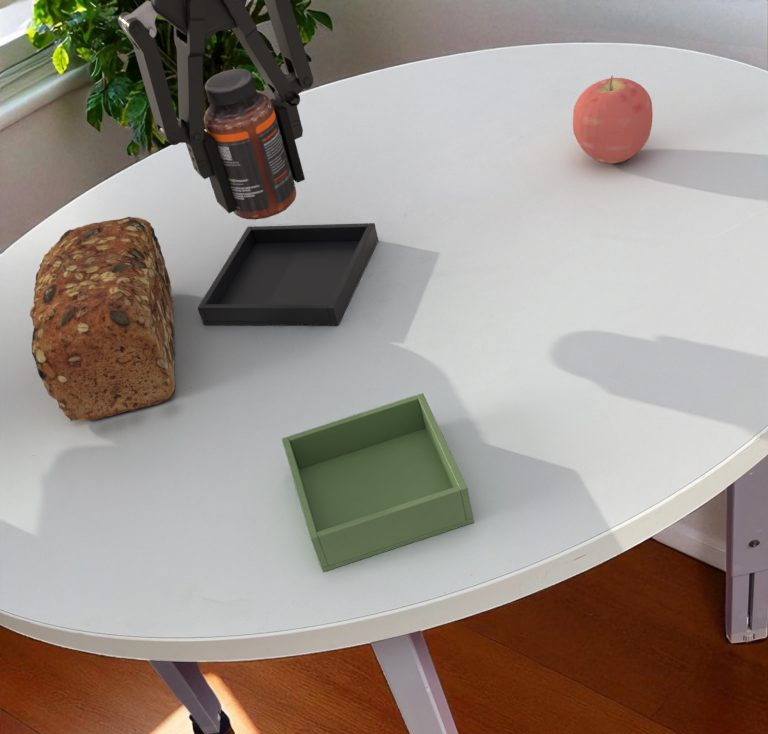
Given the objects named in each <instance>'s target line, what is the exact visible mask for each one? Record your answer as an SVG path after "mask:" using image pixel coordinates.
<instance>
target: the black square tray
mask: <svg viewBox="0 0 768 734" xmlns="http://www.w3.org/2000/svg"><path fill="white" fill-rule="evenodd" d="M378 236H379V235H378V232H377V228H376V223H375V222H369V223H368V222H366V223H365V222H363V223H332V224H331V223H329V224H327V223H326V224H294V225H293V224H292V225H258V226H257V225H255V226H254V225H253V226H247V227H246V228H245V230H244V232H243V234H242V235H241V237H239V240H238V241H237V243H236V245H235V246H234V248H233V250H232V251H231V253H230V255H229V256H228V258H227V260H226V261H225V262H224V264H223V266H222V267H221V269H220V270H219V272H218V274H217V276H216V277H215V279H214V280H213V282H212V284H211V286H210V287H209V288H208V290H207V292H206V294H205V295H204V297H203V299H202V300H201V302H200V303H199V305H198V307H197V311H198V314H199V316H200V318H201V322H202V324H203V326H308V327H309V326H310V327H311V326H313V327H314V326H318V327H320V326H329V327H330V326H332V327H333V326H335V327H336V326H337V327H338V326H339V325H340V323H341V321H342V319H343V317H344V314H345V313H346V310H347V308H348V306H349V304H350V302H351V300H352V298H353V295H354V294H355V292H356V289H357V287H358V285H359V283H360V281H361V278H362V276H363V274H364V272H365V270H366V268H367V265H368V263H369V262H370V260H371V257H372V255H373V254H374V251H375V248H376V247H377V245H378V242H379V237H378Z"/></svg>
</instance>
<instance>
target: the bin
mask: <svg viewBox="0 0 768 734" xmlns="http://www.w3.org/2000/svg"><path fill="white" fill-rule="evenodd" d="M281 441H282V444H283V448H284V452H285V455H286V458H287V462H288V465H289V469H290V472H291V476H292V479H293V482H294V486H295V489H296V494H297V496H298V499H299V503H300V507H301V509H302V514H303V517H304V520H305V524H306V528H307V531H308V534H309V538H310V542H311V544H312V546H313V548H314V552H315V556H316V557H317V560H318V563H319V565H320V568H321V571H322V573H324V572H328V571H330V570H333V569H337V568H340V567H343V566H346V565H348V564H351V563H355V562H358V561H360V560H361V561H362V560H364V559H368V558H369V557H373V556H376V555H380V554H382V553H385V552H388V551H391V550H394V549H398V548H401V547H404V546H407V545H409V544H413V543H415V542H418V541H421V540H425V539H428V538H430V537H434V536H438V535H441V534H443V533H447V532H449V531H452V530H456V529H459V528H461V527H465V526H467V525H470V524H473V523H475V519H474V515H473V510H472V505H471V500H470V495H469V490H468V487H467V484H466V482H465V480H464V478H463V476H462V474H461V471H460V470H459V467H458V465H457V463H456V461H455V458H454V456H453V454H452V451H451V450H450V448H449V446H448V444H447V441H446V439H445V436H444V435H443V433H442V430H441V429H440V427H439V425H438V422H437V420H436V418H435V416H434V413H433V412H432V409H431V407H430V405H429V402H428V400H427V398H426V395H425V394H424V393H423V392H422V393H419V394H416V395H412V396H409V397H406V398H402V399H400V400H397V401H394V402H390V403H388V404H384V405H382V406H379V407H375V408H372V409H370V410H366V411H363V412H359V413H356V414H353V415H351V416H348V417H345V418H341V419H338V420H335V421H333V422H332V421H331V422H328V423H325V424H323V425H319V426H316V427H314V428H310V429H307V430H304V431H301V432H297V433H295V434H291V435H288V436H286V437H282V438H281Z"/></svg>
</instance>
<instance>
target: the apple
mask: <svg viewBox="0 0 768 734" xmlns="http://www.w3.org/2000/svg"><path fill="white" fill-rule="evenodd" d="M652 126H653V102H652V98H651V96H650V94H649V92H648V91H647V89H645V87H644V86H642V85H641V84H640V83H638V82H636V81H634V80H633V79H629V78H624V77H614V76H613V75H611V76H610V78H605V79H601V80H599V81H596V82H595V83H592V84H591V85H590V86H588V87H586V89H584V91H583V92H582V93H581V94H580V95H579V96H578V98H577V99H576V101H575V104H574V107H573V111H572V131H573V134H574V137H575V140H576V141H577V143H578V145H579V147H580V148H581V149H582V150H583V151H584V153H586V155H588V156H589V157H590V158H592V159H593V160H595V161H597V162H600V163H603V164H618V163H622V162H625V161H627V160H629V159H630V158H633V156H635V155H636V154H637V153H639V151H641V149H642V148H643V147H645V145H646V143H647V141H648V140H649V138H650V135H651V132H652V128H653V127H652Z"/></svg>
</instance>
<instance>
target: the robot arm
mask: <svg viewBox="0 0 768 734" xmlns="http://www.w3.org/2000/svg"><path fill="white" fill-rule="evenodd" d="M247 1H248V0H146V1H145V2H143V3H142V4H140V5H139V6H138V7H137V8H136V9H134V11H132V12H128V11H124V12H122V13H120V14H119V16H118V19H117V21H118V25H119V27H120V28H121V29H122V31H123V32H124V34H125V36H126V37H127V38H128V40H129V41H130V43H131V44H132V46H133V51H134V53H135V58H136V61H137V64H138V69H139V72H140V74H141V78H142V82H143V85H144V89H145V94H146V96H147V99H148V103H149V107H150V110H151V113H152V118H153V121H154V125H155V128H156V131H157V133H158V134H159V135H160V136H161V137H162V138H163V139H164V140H165V141H166V142H168V144H170V145H171V146H177V145H179V144H185V146H186V149H187V151H188V154H189V157H190V160H191V163H192V166H193V169H194V170H195V172H196V173H197V174H198V175H199V176H200V177H201V178H202V179H204V180H207V179H208V178H209V181H210V185H211V187H212V190H213V193H214V197H215V200H216V202H217V203H218V204H219V205H220V207H222V208H223V209H224V211H226V212H227V213H228V214H231V213H234V212H233V211H236V210H237V209H236V205H235V202H234V199H233V196H232V193H231V190H230V186H229V183H228V180H227V177H226V174H225V170H224V167H223V164H222V161H221V158H220V154H219V151H218V148H217V145H216V142H215V139H214V138H213V137H212V136H211V135H210V134H208V133H207V131H206V129H205V124H204V116H205V111H204V65H203V64H204V62H203V60H204V55H205V53H206V40H207V39H209V38H212V37H213V36H215V34H217V33H218V32H223V31H229V30H231V31H232V32H233V33H234V35H235V36H236V38H237V39H238V41H239V43H240V45H241V46H242V48H243V50H244V51H245V52H246V54H247V56H248V58H249V59H250V60H251V62H252V63H253V66H254V67H255V68H256V70H257V72H258V73H259V75H260V76H261V78H262V80H263V81H264V83H265V84H266V86H267V88H268V90H269V91H270V93H271V94H272V95H273V96H274V98H269V99H270V101H271V103H272V105H273V107H274V111H275V114H276V118H277V121H278V125H279V129H280V132H281V136H282V140H283V143H284V147H285V151H286V155H287V158H288V162H289V165H290V169H291V172H292V176H293V179H294V182H296V183H297V184H298V183H300V182H303V181H305V180H306V178H305V175H304V174H305V173H304V170H303V166H302V162H301V158H300V154H299V151H298V147H297V143H296V140H298V139H300V138H302V137H303V132H304V129H303V125H302V121H301V117H300V113H299V109H298V106H299V105H300V103H301V97H300V95H299V94H301V92H303V91H304V90H308V89H310V88H311V87H312V86H313V85H314V76H313V73H312V71H311V68H310V64H309V60H308V57H307V53H306V50H305V47H304V44H303V40H302V36H301V32H300V30H299V26H298V23H297V20H296V16H295V12H294V10H293V6H292V3H291V0H263V1H264V4H265V7H266V10H267V13H268V16H269V20H270V23H271V26H272V29H273V33H274V36H275V39H276V42H277V46H278V47H279V51H280V52H279V53H280V55H281V58H282V61H283V64H284V67H285V71H286V73H287V74H286V75H285V73H284V72H283V70H282V68H281V67H280V65H279V63H278V62H277V60H276V58H275V57H274V55H273V54H272V52H271V50H270V48H269V47H268V45H267V44H266V42H265V40H264V38H263V37H262V35H261V33H260V32H259V30H258V26H257V24H256V23H255V21H254V19H253V17H252V16H251V14H250V13H249V11H248V10H247V8H246V5H247ZM159 16H160V17H161V18H162V19H164V21H166V22H167V23H169V24H170V25H171V26H172V27H173V40H174V41H173V42H174V45H175V48H176V67H177V69H176V70H177V92H178V93H177V96H178V97H177V100H178V102H177V103H178V118H177V114H176V110H175V107H174V103H173V100H172V99H173V98H172V95H171V91H170V87H169V83H168V80H167V76H166V73H165V70H164V66H163V62H162V58H161V53H160V51H159V48H158V46H157V44H156V42H155V40H154V38H155V37H156V36H157V34H158V30H157V25H156V20H157V17H159Z"/></svg>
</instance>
